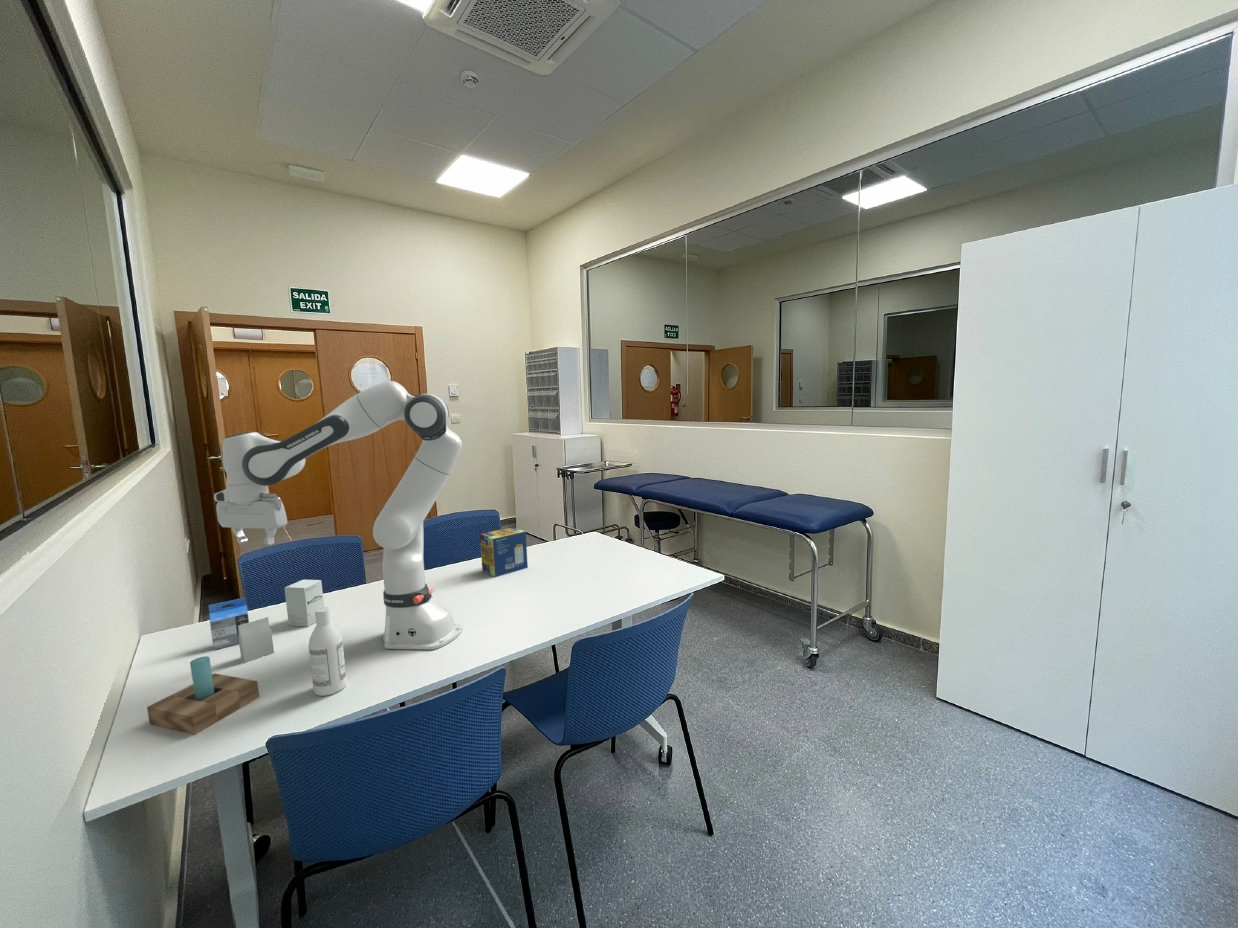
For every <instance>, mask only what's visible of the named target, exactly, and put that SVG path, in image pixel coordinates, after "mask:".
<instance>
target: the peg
mask: <svg viewBox="0 0 1238 928" xmlns="http://www.w3.org/2000/svg"><path fill="white" fill-rule="evenodd" d="M189 665H190V666H189V667H190V671H191V679H192V684H193V686H194V693H195V699H196V701H202V700H204V699H206V698H208V697H210V696H212V695H213V694H215V691H214V685H213V678H212V674H213V672H212V665H211V659H210V656H206V655H205V656H200V657H198V658H197V657H196V658H194V659H192V660H191V661H190V662H189Z"/></svg>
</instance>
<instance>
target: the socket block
mask: <svg viewBox="0 0 1238 928" xmlns="http://www.w3.org/2000/svg"><path fill="white" fill-rule="evenodd" d="M212 678H213V685H214V691H215V694H213V695H212V696H210V697H208V698H206V699H204V700H202V701H196V699H195V693H194V686H193V683H192V684H190V685H188V686H186V687H184V688H182V689H181V690H178V691H177V692H174V693H172V694H171V695H168V696H167V697H165V698H163V699H160V700H159V701H157V702H154V703H152V704H151V705H148V706H147V707H146V710H147V715H148V721H149V725H152V726H157V727H160V728H161V727H162V728H165V729H170V730H174V731H178V732H183V733H187V734H190V735H191V734H192V735H197V734H199V733H200V732H202V731H204V730H206V729H208V728H209V727H210V726H212V725H214V724H216V723H218V722H220V720H221V721H222V719H225V718H226V717H228V716H229V715H231V714H233V713H234V712H236V711H238V710H240V709H241V708H243V707H245V706H246V705H248V704H249V703H251V702H253V701H255V700H256V699H257V700H258V698H260V691H259V690H260V689H259V682H258V680H254V679H248V678H243V677H238V676H237V677H236V676H232V675H226V674H219V673H212Z"/></svg>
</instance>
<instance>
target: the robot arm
mask: <svg viewBox="0 0 1238 928" xmlns="http://www.w3.org/2000/svg"><path fill="white" fill-rule="evenodd" d="M449 413H450V412H449V408H448V406H447V404H446V402H445V401H444V400H443V399H442V398H440V397H439V396H438V395H435V394H432V393H422V394H410V393H409V392H408V391H407V389H406V388H405V387H404V386H403V385H402V384H400V383H398V382H397V381H394V380H388V381H384V382H381V383H378V384H375V385H373V386H371V387H368V388H367V389H366V388H365V389H364V390H362V391H360V392H358V393H356V394H354V395H352V396H351V397H350V398H348V399H347V400H344V401H343V402H342V403H341V404H339V405H338V406H337V407H336V408H334V409H333V410H332V411H331V412H329V413H327V414H326V415H325V416H324V417H322V418H321V419H320V420H318V421H317V422H315V423H313V424H311V425H310V426H308V427H307V428H304V429H303V430H301V431H299V432H297V433H294V434H293V435H291V436H289V437H288V438H286V439H284V440H281V441H280V440H276V439H272V438H269V437H267V436H264V435H262V434H260V433H259V432H257V431H245V432H240V433H236V434H231V435H229V436H227V437H226V438H224V440H223V441H222V461H223V469H224V471H225V472H226V476H227V479H226V488H225V489H223V490H221V491H219V492H215V493H214V495H213V499H214V501H215V502H217V503H216V508H215V509H216V515H217V521H218V523H219V525H220V526H221V527H222V528H231V531H232V532H233V535H234V536H235V537H236V541H237V544H247V543H248V541H249V540H248V536H247V535H245V533H244V529H259V530H261V529H264V531H265V533H266V536H265V538H263V544H264V545H269V546H271V545H273V544H275V536H276V533H277V531H278V529H280V528H283V527H286V526H287V525H288V517H287V513H286V509H285V506H284V503H283V501H282V499H281V497H279V495H277V494H276V493H270V491H269V490H270V489H269V488H270V487H269V486H273V485H275V484H278V483H280V482H282V481H283V480H287V479H289V478H291V477H293V476H295V475H298V474H299V473H300V472H302V471H303V469H304V468H305V466H306V464H307V463H306V462H307V461H306V460H307V458H309V457H310V456H312V455H314V454H316V453H318V452H319V451H321V450H323V449H325V448H327V447H330V446H332V445H336V444H339V443H343V442H348V441H352V440H358V439H360V438H363V437H367V436H369V435H371V434H374V433H376V432H378V431H380V430H381V429H383V428H385V427H387V426H388V425H391V424H392V423H393V422H398V421H405V422H406V424H407V426H408V427H409V428H410V429H411V430H412V431H413V432H414V433H415V434H417V436H418V437H419V438H420V439H421V440H422V442H421V444H420V447H419V448H418V450H417V451H416V453H415V455H414V457H413V459H412V461H411V462H410V464H409V465H408V468H407V469H406V471H405V473H404V474H403V476H402V478H401V480H400V481H399V483H398V484H397V486H396V487H395V489H394V491H392V493H391V495H390V496H389V498H388V499H387V501H386V502H385V504H384V506H383V508H382V509H381V511H380V512H379V514H378V516H377V517H376V519H375V520H374V524H373V529H372V536H373V540H374V541H375V542H376V544H377V546H380V547H381V548H383V556H382V563H381V566H382V578H383V579H382V580H383V587H384V590H383V592H382V594H383V597H382V598H383V604H384V606H385V622H384V623H385V624H384V631H383V632H384V633H383V636H382V641H383V642H384V644H383V645H384V649H387V650H388V649H389V650H392V649H393V650H427V651H428V650H431V651H432V650H436V649H439V648H442V647H444V646H447V645H448V644H449V643H450V642H453V640H455V639H456V638H457V637H458V636H460V634H461V633H462V631H463V626H462V625H461V624H457V623H455V622H454V617H453V614H452V612H451V611H450V610H449V609H448V608H446V607H445V606H443V604H441V603H440V602H439V601H437V599H434V598H433V596H432V594H433V593H434V592H435V591H434V590H435V588H431V589H429V587H428V585H427V583H426V576H425V563H424V521H425V520H426V518H427V516H428V514H429V513H430V511H431V509H432V507H433V506H434V504H435V502H436V501H437V499H438V497H439V496H440V493H441V492H442V490H443V489H444V486H445V485H446V483H447V481H448V480H449V478H450V477H451V474H452V472H453V471H454V469H455V467H456V465H457V463H458V461H459V458H460V455H461V452H462V449H463V441H462V439H461V437H459V435H458V434H457V433H455V432H454V431H452V430H451V429H450V428H449V427H448V420H449V416H450V415H449Z"/></svg>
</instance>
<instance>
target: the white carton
mask: <svg viewBox="0 0 1238 928" xmlns="http://www.w3.org/2000/svg"><path fill="white" fill-rule="evenodd" d="M238 639H239V643H238V645H239V652H240V659H241V661H242V662H243V663H244V664H247V663H249V662H252V661H255V660H258V659H261V658H263V656H264V657H266V656H270V655H273V654H275V651H274V643H273V633H272V630H271V625H270V622H269V617H267V616H266V617H262V618H260V619H256V620H252V621H249V623H246V624H242V625H239V626H238ZM272 653H273V654H272Z"/></svg>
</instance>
